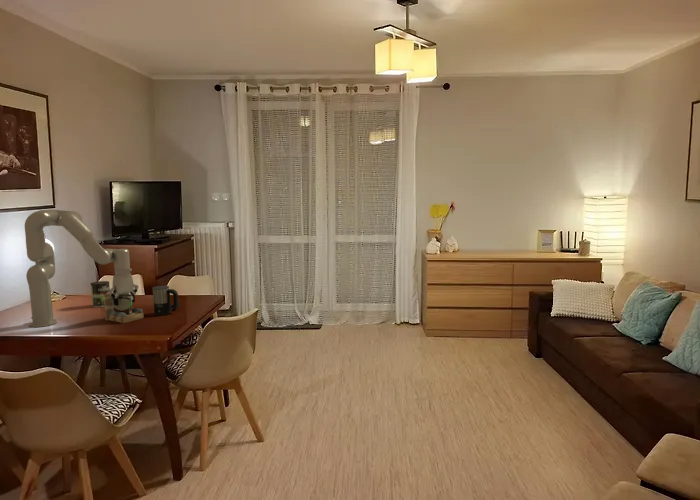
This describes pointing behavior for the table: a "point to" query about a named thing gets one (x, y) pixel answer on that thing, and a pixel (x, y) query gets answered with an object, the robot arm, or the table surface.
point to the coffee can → (99, 292)
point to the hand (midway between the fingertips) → (124, 303)
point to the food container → (124, 304)
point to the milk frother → (164, 300)
